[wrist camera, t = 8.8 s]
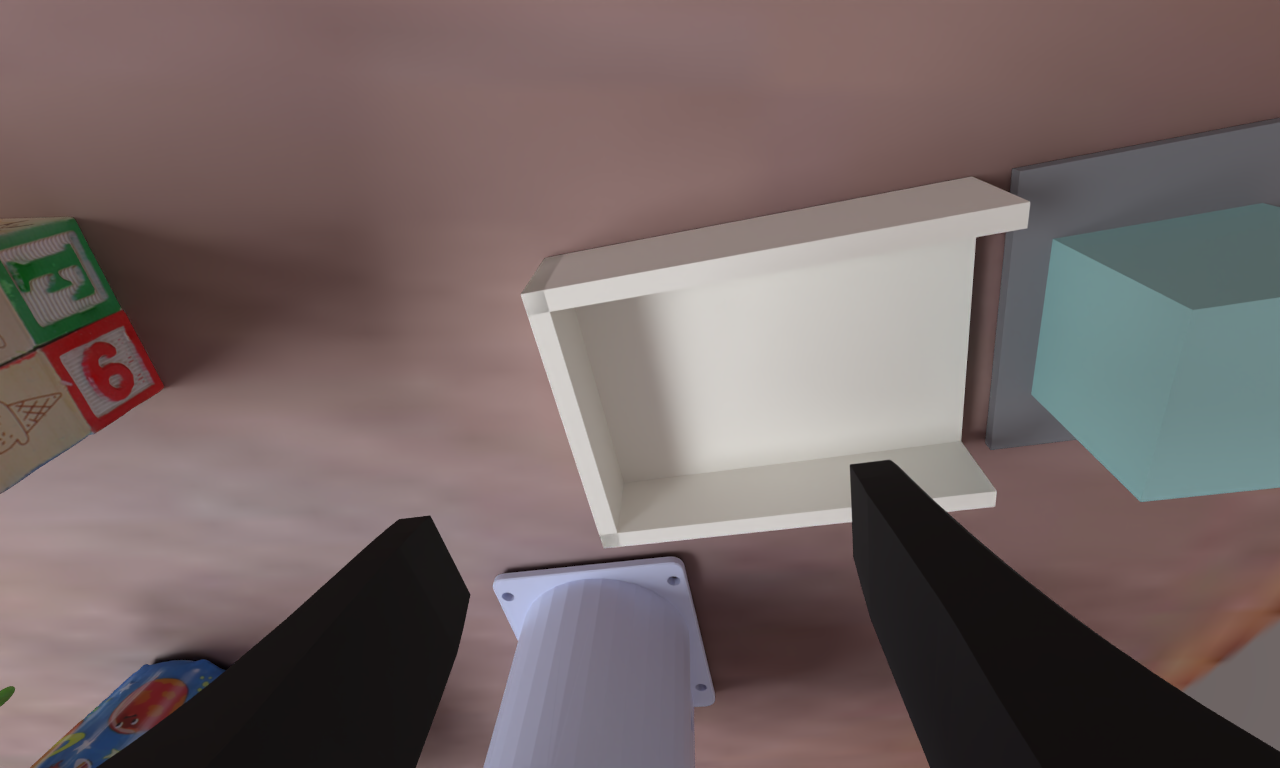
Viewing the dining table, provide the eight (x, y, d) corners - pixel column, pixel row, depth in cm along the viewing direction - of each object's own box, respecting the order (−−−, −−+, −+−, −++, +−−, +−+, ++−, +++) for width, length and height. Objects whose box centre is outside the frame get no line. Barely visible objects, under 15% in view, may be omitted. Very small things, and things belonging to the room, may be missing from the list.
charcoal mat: (1219, 414, 19) (1229, 420, 18) (985, 443, 20) (990, 450, 19) (1318, 110, 14) (1335, 111, 14) (1012, 168, 15) (1020, 171, 15)
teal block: (1211, 370, 17) (1387, 476, 13) (1031, 394, 18) (1140, 502, 14) (1263, 203, 15) (1498, 265, 11) (1052, 238, 16) (1193, 310, 11)
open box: (953, 446, 20) (995, 506, 17) (612, 488, 22) (603, 548, 19) (971, 176, 15) (1030, 201, 13) (544, 257, 17) (520, 294, 15)
